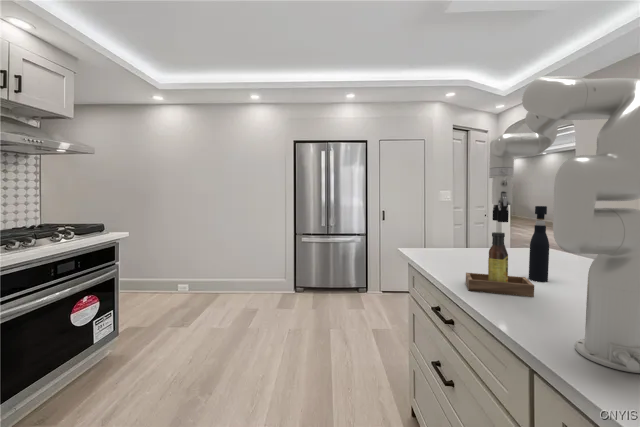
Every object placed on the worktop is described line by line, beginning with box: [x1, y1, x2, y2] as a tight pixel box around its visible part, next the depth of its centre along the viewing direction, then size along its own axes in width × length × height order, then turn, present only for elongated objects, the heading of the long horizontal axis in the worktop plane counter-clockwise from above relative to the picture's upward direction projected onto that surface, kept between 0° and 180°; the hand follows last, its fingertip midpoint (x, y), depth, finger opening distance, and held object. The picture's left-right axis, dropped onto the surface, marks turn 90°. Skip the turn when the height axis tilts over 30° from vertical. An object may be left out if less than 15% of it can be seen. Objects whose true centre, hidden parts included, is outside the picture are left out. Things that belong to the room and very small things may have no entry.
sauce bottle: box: [487, 231, 509, 282], centre depth 113 cm, size 6×6×20 cm
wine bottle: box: [528, 205, 550, 283], centre depth 125 cm, size 6×6×30 cm
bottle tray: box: [465, 272, 535, 298], centre depth 114 cm, size 11×20×4 cm, turn 70°
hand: (500, 221), depth 112 cm, fingers open, 9 cm apart
